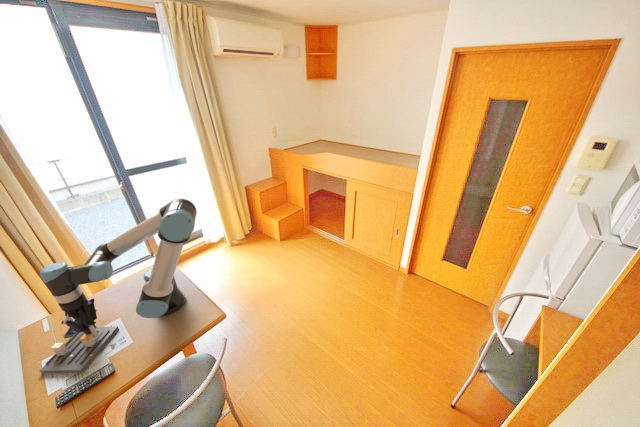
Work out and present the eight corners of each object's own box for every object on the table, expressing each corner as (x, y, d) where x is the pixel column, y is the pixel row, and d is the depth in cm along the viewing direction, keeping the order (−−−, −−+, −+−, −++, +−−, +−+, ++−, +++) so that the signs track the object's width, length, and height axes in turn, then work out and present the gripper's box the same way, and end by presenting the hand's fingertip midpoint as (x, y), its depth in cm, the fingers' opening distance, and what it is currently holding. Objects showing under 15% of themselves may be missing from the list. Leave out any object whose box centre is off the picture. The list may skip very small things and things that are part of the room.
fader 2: (96, 342, 105) (91, 334, 103) (92, 346, 103) (87, 339, 101) (89, 342, 105) (84, 334, 103) (85, 347, 103) (79, 339, 101)
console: (118, 329, 114) (116, 325, 113) (82, 372, 96) (79, 369, 95) (84, 329, 113) (82, 326, 112) (41, 373, 95) (38, 369, 94)
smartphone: (97, 308, 124) (82, 332, 111) (97, 309, 124) (83, 334, 112) (79, 312, 122) (62, 337, 109) (80, 313, 122) (63, 338, 110)
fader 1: (69, 350, 102) (63, 342, 99) (64, 355, 100) (58, 347, 98) (61, 350, 102) (55, 342, 99) (56, 355, 100) (50, 347, 97)
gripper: (75, 285, 102) (97, 323, 112) (44, 310, 90) (72, 350, 100) (93, 285, 102) (114, 323, 112) (64, 310, 90) (90, 350, 100)
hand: (94, 336), depth 106 cm, fingers closed
